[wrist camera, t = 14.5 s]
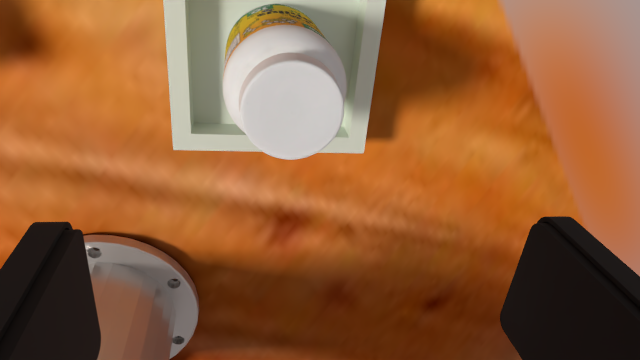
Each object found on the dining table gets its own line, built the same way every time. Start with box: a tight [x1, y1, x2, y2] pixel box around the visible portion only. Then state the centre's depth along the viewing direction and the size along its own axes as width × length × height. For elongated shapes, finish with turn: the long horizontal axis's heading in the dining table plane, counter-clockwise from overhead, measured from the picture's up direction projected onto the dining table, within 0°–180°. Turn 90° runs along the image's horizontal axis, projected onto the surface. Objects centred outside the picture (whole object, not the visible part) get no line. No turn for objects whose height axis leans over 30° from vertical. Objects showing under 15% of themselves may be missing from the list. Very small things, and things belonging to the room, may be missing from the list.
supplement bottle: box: [223, 3, 347, 160], centre depth 22 cm, size 5×5×10 cm
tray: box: [163, 0, 386, 153], centre depth 26 cm, size 11×11×2 cm
